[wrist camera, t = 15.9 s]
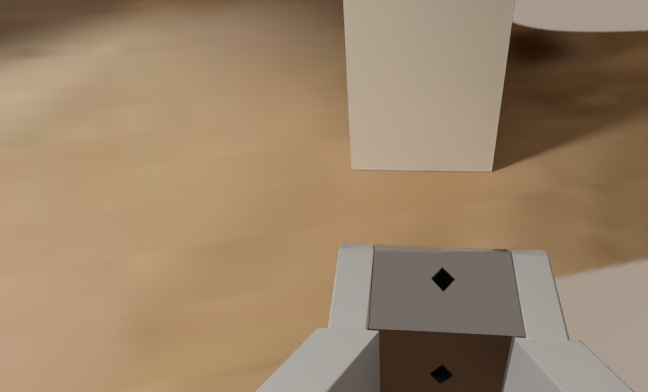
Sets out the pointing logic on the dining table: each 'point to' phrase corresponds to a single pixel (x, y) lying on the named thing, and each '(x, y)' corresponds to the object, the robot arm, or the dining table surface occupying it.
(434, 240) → the dining table surface
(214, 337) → the dining table surface
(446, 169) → the ivory domino
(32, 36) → the dining table surface
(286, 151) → the dining table surface
